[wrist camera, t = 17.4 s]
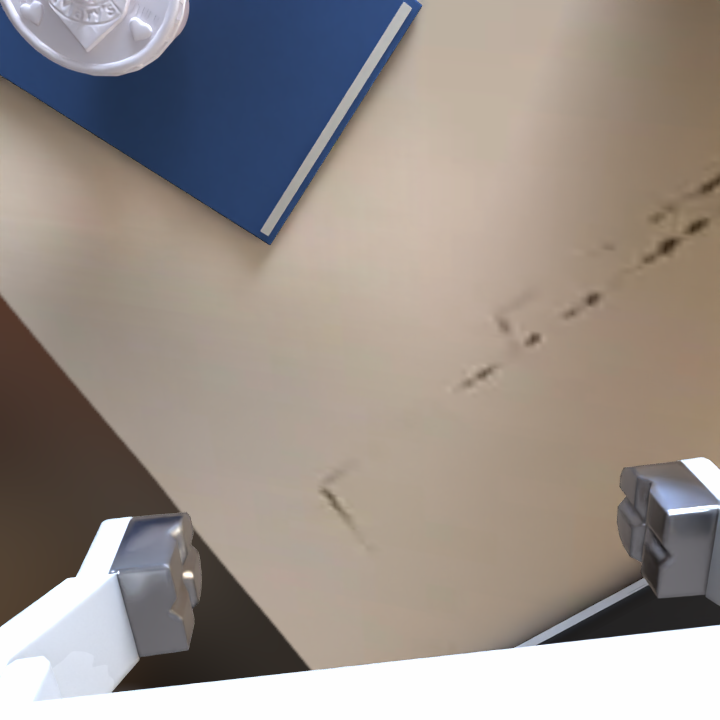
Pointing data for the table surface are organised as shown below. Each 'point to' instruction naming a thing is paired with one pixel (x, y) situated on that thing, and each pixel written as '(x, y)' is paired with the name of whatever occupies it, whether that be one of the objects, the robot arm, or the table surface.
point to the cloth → (231, 97)
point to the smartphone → (632, 616)
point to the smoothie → (99, 31)
